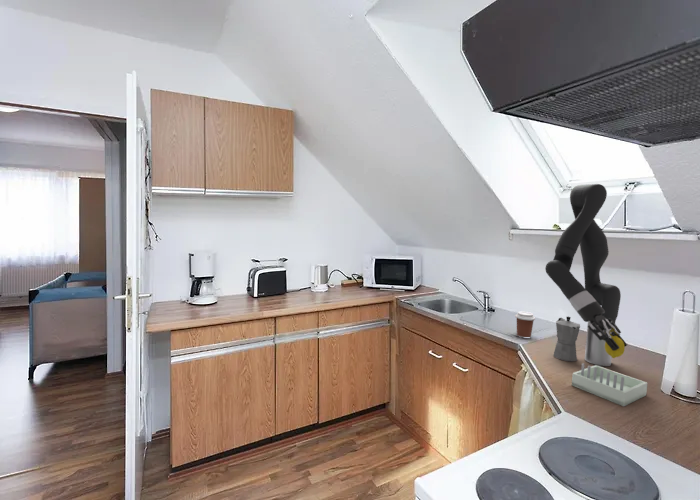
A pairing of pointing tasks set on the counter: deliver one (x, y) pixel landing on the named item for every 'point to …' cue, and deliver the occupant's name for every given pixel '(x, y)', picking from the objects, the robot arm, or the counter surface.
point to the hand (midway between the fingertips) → (620, 347)
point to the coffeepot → (566, 339)
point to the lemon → (618, 351)
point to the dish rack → (609, 384)
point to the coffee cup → (524, 323)
